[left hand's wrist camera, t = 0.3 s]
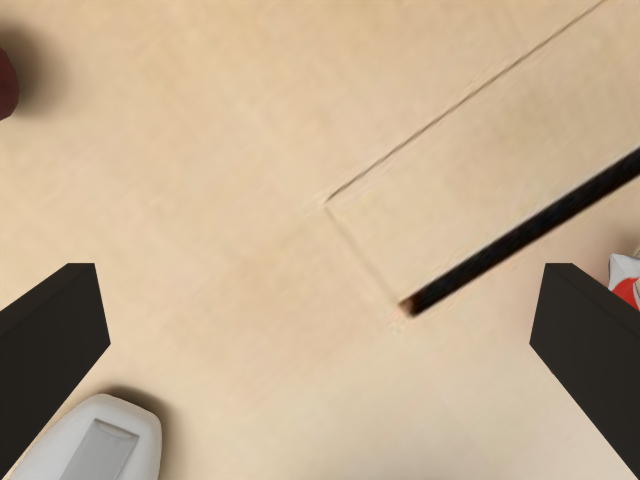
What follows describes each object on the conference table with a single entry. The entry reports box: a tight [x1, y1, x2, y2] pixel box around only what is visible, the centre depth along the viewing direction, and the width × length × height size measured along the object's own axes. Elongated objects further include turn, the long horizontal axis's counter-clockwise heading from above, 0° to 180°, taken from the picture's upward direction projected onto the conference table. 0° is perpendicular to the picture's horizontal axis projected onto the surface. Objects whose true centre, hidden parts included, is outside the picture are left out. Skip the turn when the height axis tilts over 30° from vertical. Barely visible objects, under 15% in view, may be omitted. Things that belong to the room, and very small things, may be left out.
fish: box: [550, 250, 640, 374], centre depth 39 cm, size 11×16×10 cm
